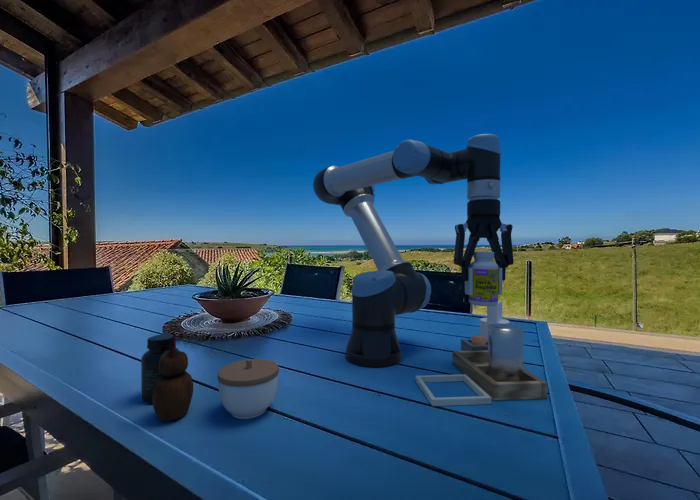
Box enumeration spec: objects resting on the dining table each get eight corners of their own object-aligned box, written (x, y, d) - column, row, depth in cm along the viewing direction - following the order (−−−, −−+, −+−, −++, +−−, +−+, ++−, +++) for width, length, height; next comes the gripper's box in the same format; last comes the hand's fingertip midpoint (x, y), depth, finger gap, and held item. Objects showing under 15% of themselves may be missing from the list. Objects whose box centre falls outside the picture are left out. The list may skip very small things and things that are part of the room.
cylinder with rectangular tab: (483, 333, 113) (483, 299, 113) (512, 337, 108) (512, 301, 108) (477, 339, 106) (477, 302, 106) (506, 344, 101) (506, 305, 101)
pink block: (475, 357, 87) (475, 338, 87) (468, 352, 90) (468, 335, 90) (488, 357, 87) (488, 338, 87) (482, 352, 91) (482, 334, 91)
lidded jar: (218, 432, 52) (218, 374, 52) (217, 403, 62) (217, 354, 62) (284, 418, 56) (284, 365, 56) (273, 393, 66) (273, 347, 66)
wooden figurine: (165, 407, 60) (165, 327, 60) (197, 405, 61) (197, 326, 61) (146, 427, 54) (145, 337, 54) (181, 425, 54) (181, 336, 54)
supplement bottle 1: (155, 388, 68) (155, 332, 68) (187, 389, 68) (187, 332, 68) (133, 404, 62) (132, 341, 62) (168, 404, 61) (167, 342, 61)
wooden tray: (493, 400, 63) (493, 384, 63) (452, 362, 84) (452, 351, 84) (547, 398, 64) (547, 383, 64) (493, 361, 85) (493, 350, 85)
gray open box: (472, 361, 85) (472, 346, 85) (461, 353, 92) (461, 339, 92) (497, 361, 85) (497, 345, 85) (484, 352, 92) (484, 338, 92)
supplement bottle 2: (471, 306, 76) (471, 252, 76) (466, 301, 83) (466, 251, 83) (501, 307, 75) (501, 252, 75) (494, 302, 81) (494, 251, 81)
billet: (498, 392, 65) (498, 331, 65) (482, 379, 72) (482, 323, 72) (530, 391, 66) (530, 330, 66) (511, 378, 73) (511, 323, 73)
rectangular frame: (432, 406, 61) (432, 399, 61) (415, 381, 72) (415, 375, 72) (491, 404, 62) (491, 397, 62) (465, 379, 73) (465, 374, 73)
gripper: (450, 197, 74) (449, 296, 74) (531, 198, 76) (531, 296, 76) (438, 201, 82) (438, 292, 82) (513, 202, 83) (513, 291, 83)
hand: (483, 294), depth 79 cm, fingers closed on supplement bottle 2, 7 cm apart
